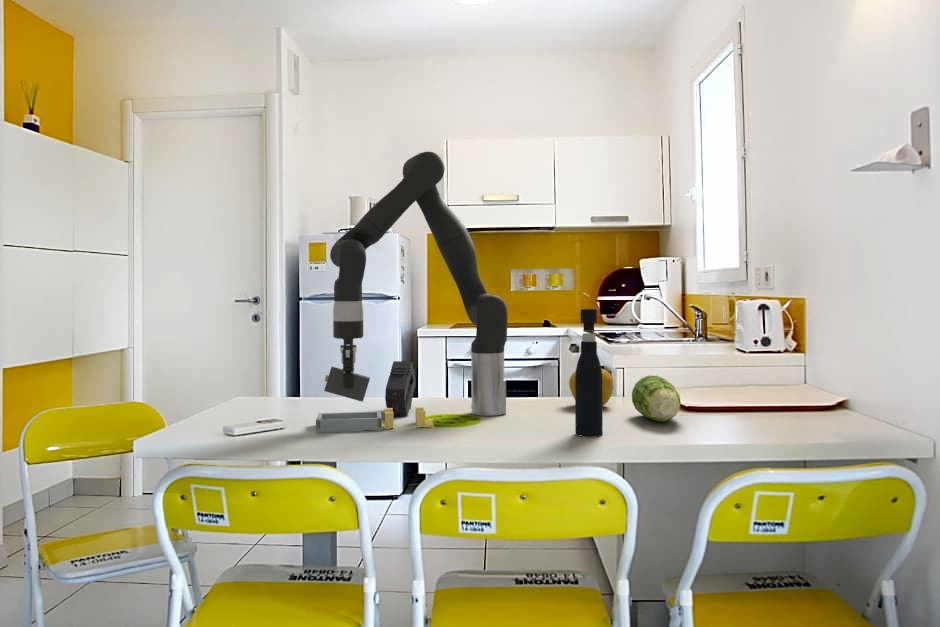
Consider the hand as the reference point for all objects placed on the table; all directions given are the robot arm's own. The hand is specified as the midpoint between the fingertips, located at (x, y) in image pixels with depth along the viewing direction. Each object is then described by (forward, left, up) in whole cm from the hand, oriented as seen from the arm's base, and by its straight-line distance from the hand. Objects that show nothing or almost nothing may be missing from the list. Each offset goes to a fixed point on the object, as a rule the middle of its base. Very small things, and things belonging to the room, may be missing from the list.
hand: (348, 386), depth 178 cm
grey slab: (+1, 0, -2) cm, 3 cm away
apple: (-70, -20, -11) cm, 73 cm away
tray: (0, 0, -10) cm, 10 cm away
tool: (-14, -19, -11) cm, 26 cm away
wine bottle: (-57, +18, -11) cm, 61 cm away
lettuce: (-80, +5, -11) cm, 81 cm away
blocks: (-14, 0, -10) cm, 17 cm away
